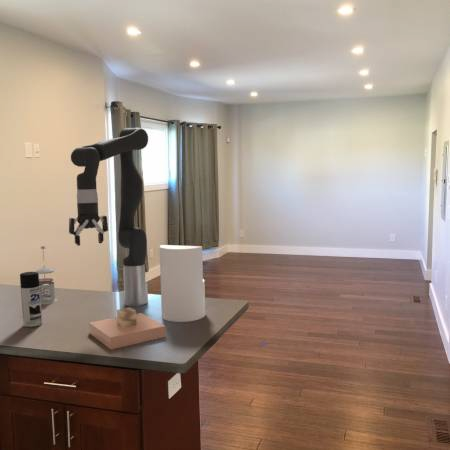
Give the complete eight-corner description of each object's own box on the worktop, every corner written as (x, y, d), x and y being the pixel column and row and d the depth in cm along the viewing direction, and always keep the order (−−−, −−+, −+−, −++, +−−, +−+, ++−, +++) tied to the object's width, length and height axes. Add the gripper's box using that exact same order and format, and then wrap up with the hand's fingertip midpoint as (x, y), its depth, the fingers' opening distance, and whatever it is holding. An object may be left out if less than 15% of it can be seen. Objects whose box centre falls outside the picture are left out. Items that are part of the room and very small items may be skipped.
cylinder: (194, 323, 190) (193, 249, 187) (153, 319, 196) (151, 248, 193) (211, 311, 206) (210, 243, 203) (173, 307, 212) (171, 241, 209)
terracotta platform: (141, 322, 192) (140, 312, 191) (165, 337, 175) (165, 325, 175) (89, 333, 180) (89, 322, 180) (110, 349, 164) (110, 337, 163)
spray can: (30, 328, 187) (27, 275, 184) (19, 326, 190) (15, 273, 188) (45, 323, 192) (42, 272, 190) (34, 321, 196) (31, 270, 194)
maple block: (130, 321, 181) (130, 307, 180) (136, 324, 177) (135, 310, 176) (117, 323, 178) (116, 309, 177) (123, 327, 174) (122, 313, 173)
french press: (53, 304, 221) (50, 247, 218) (26, 304, 221) (23, 248, 218) (60, 298, 231) (57, 244, 228) (35, 298, 231) (32, 244, 228)
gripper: (102, 200, 196) (103, 241, 198) (65, 201, 188) (67, 244, 190) (109, 200, 190) (111, 243, 192) (71, 202, 182) (73, 247, 184)
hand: (89, 244), depth 191 cm, fingers open, 8 cm apart
